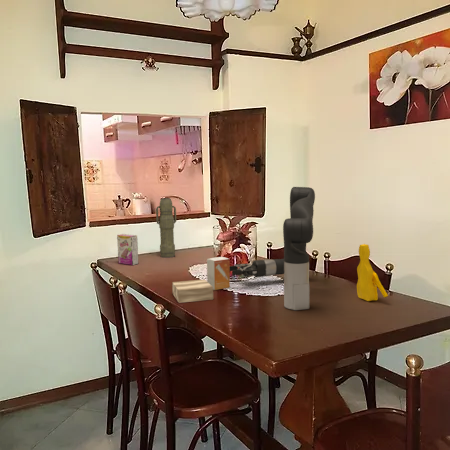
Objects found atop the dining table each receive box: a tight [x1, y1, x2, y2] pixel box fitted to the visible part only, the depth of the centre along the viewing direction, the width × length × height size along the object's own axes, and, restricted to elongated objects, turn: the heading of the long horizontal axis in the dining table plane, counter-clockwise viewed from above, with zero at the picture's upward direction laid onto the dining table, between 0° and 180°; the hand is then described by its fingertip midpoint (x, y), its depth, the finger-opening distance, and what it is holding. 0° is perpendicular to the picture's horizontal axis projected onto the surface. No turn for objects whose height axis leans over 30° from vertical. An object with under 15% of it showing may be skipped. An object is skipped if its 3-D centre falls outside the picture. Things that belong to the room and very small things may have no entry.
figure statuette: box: [356, 243, 389, 302], centre depth 179 cm, size 18×8×22 cm, turn 23°
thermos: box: [155, 197, 177, 259], centre depth 275 cm, size 9×12×35 cm
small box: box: [206, 256, 231, 291], centre depth 202 cm, size 8×6×13 cm
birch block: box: [171, 278, 214, 304], centre depth 189 cm, size 14×14×5 cm
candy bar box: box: [116, 233, 139, 266], centre depth 257 cm, size 11×5×16 cm, turn 58°
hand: (229, 270), depth 204 cm, fingers open, 8 cm apart
